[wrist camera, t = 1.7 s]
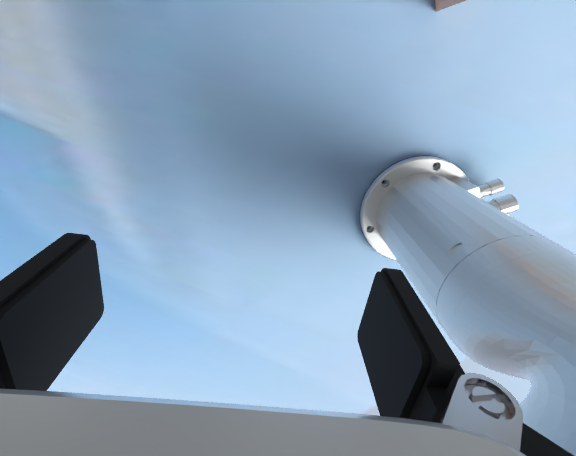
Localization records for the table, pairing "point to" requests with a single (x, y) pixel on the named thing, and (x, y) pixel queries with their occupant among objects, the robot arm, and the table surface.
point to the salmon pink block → (445, 3)
